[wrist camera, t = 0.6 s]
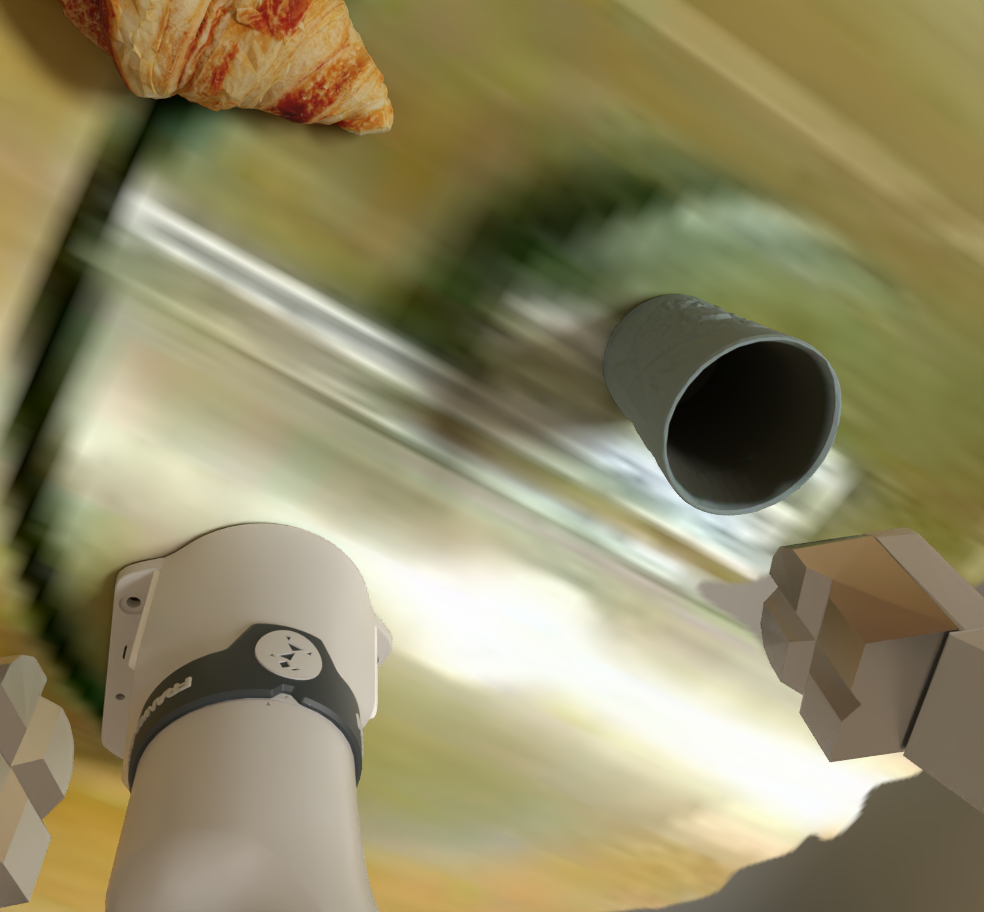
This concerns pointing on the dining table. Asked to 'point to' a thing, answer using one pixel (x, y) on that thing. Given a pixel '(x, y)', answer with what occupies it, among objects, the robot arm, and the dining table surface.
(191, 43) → the croissant
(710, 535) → the dining table surface
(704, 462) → the gray cup
